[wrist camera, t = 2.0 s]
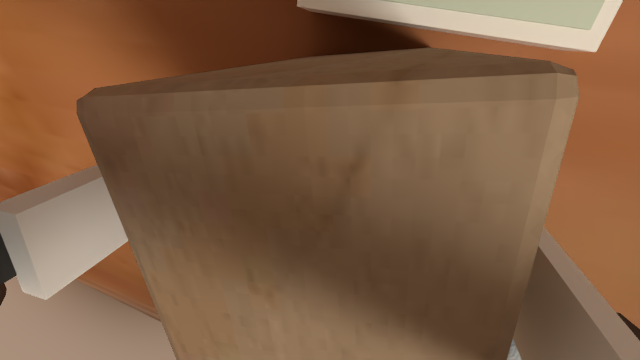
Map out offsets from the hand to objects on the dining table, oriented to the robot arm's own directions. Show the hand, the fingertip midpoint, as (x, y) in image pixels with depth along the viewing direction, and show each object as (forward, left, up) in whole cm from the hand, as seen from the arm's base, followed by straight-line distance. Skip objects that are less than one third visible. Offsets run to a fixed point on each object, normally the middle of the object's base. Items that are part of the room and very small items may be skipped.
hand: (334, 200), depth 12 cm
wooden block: (0, 0, -15) cm, 15 cm away
